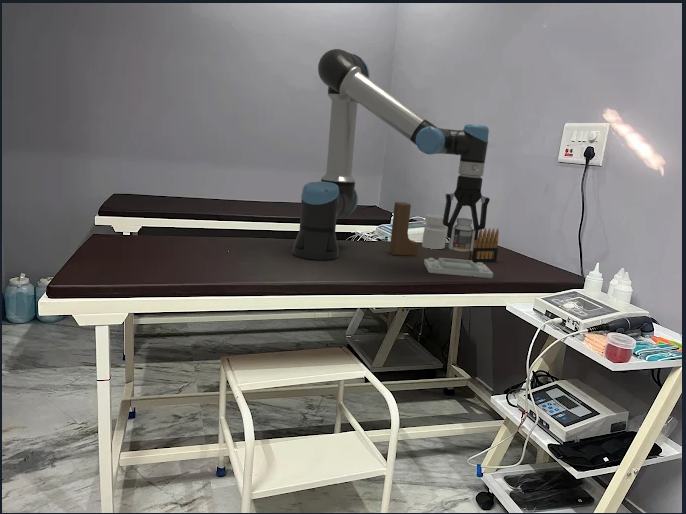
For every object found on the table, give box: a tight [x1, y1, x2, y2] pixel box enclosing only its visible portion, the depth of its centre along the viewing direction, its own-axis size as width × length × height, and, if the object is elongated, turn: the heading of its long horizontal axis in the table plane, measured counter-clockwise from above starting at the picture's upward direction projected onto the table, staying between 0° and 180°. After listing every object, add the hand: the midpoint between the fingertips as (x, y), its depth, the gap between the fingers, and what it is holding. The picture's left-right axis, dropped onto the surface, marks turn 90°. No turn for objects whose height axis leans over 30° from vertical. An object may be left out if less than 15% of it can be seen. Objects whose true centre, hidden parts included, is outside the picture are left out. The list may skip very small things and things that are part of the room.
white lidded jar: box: [421, 213, 450, 250], centre depth 210 cm, size 9×9×12 cm
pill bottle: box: [451, 217, 473, 252], centre depth 175 cm, size 6×6×10 cm
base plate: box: [423, 257, 494, 279], centre depth 178 cm, size 20×12×2 cm, turn 89°
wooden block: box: [388, 201, 419, 257], centre depth 193 cm, size 9×4×18 cm, turn 104°
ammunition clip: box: [468, 227, 499, 263], centre depth 193 cm, size 11×2×12 cm, turn 114°
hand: (460, 248), depth 177 cm, fingers closed on pill bottle, 6 cm apart
